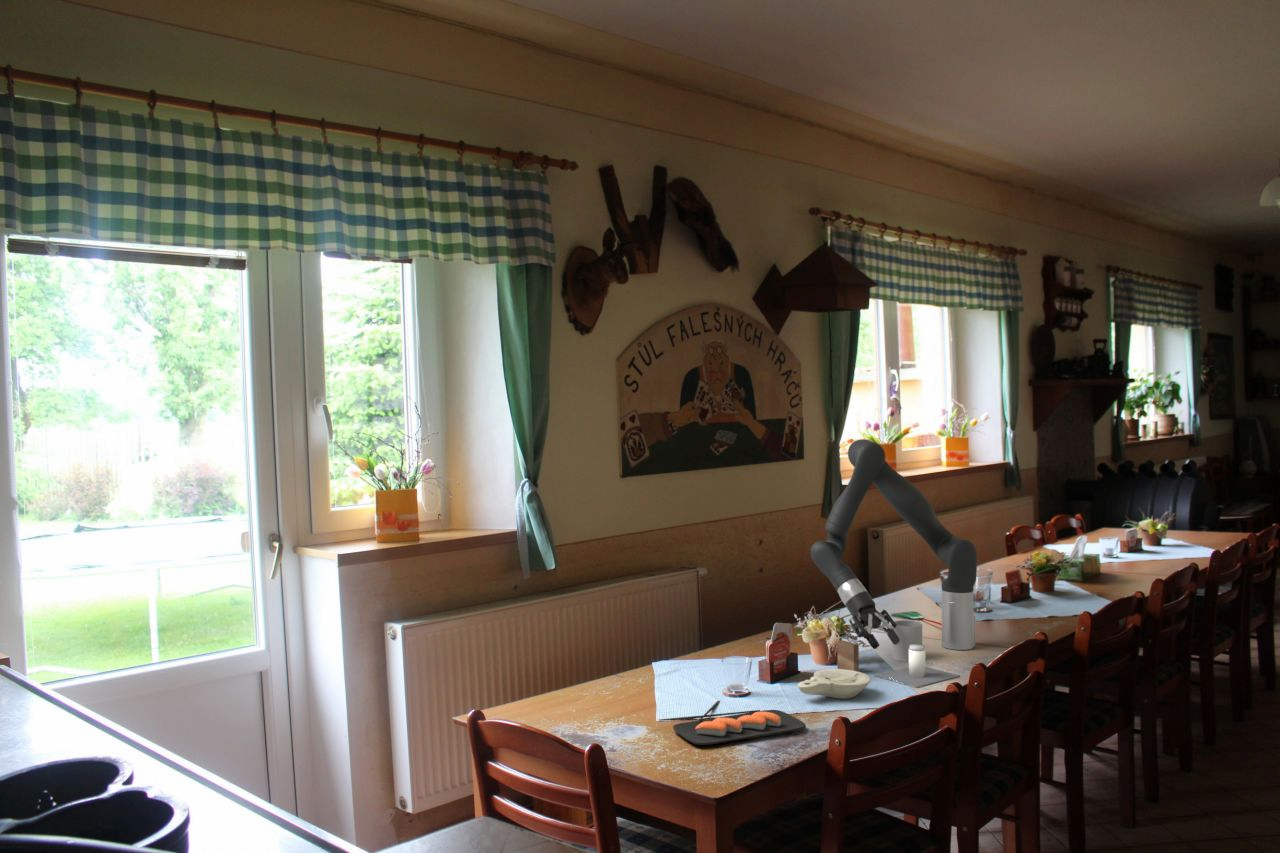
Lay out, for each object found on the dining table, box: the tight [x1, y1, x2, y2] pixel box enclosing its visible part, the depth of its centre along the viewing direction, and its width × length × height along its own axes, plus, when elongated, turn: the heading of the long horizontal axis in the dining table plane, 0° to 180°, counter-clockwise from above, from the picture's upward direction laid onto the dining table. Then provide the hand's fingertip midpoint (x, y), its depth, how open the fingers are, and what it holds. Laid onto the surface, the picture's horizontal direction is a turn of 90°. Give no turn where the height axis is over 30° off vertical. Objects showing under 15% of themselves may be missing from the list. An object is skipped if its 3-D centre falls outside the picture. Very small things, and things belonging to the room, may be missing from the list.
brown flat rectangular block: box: [836, 640, 860, 672], centre depth 275 cm, size 2×6×8 cm, turn 35°
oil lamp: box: [797, 668, 871, 700], centre depth 251 cm, size 21×14×5 cm
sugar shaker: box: [908, 644, 927, 677], centre depth 269 cm, size 4×4×8 cm
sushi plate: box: [658, 700, 807, 746], centre depth 232 cm, size 29×30×4 cm
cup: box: [892, 619, 923, 662], centre depth 289 cm, size 8×8×10 cm
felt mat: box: [874, 666, 961, 688], centre depth 269 cm, size 18×14×1 cm
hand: (887, 645), depth 277 cm, fingers open, 8 cm apart
